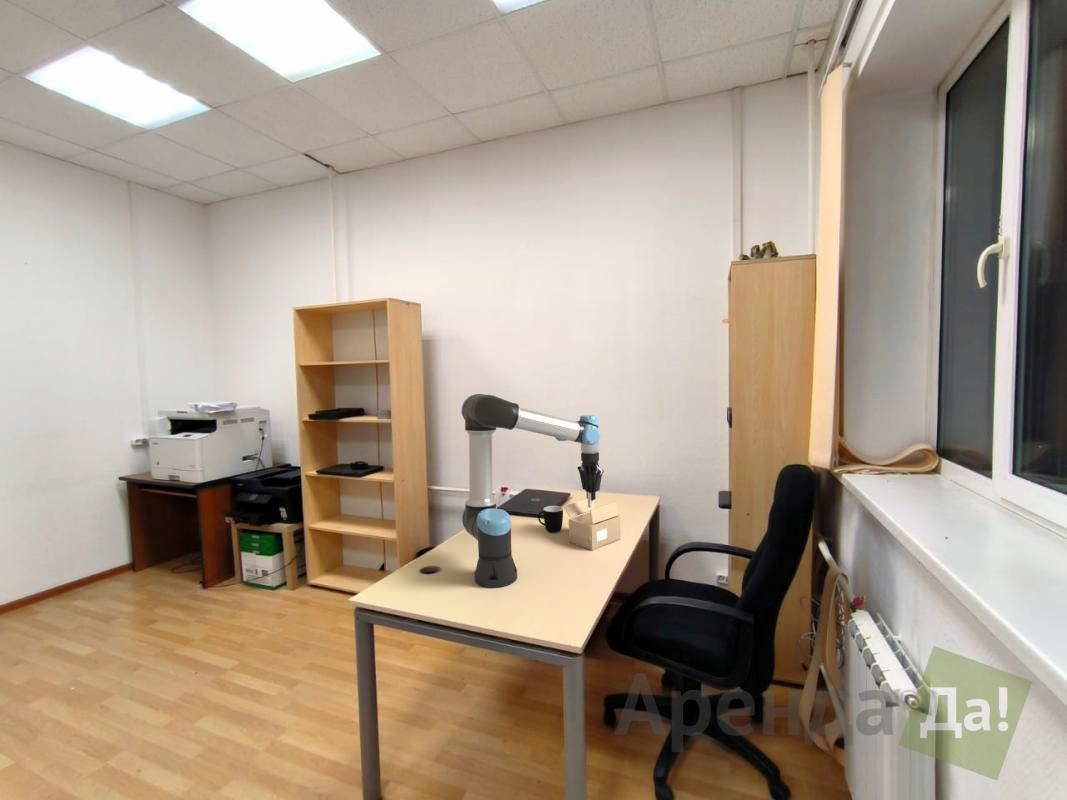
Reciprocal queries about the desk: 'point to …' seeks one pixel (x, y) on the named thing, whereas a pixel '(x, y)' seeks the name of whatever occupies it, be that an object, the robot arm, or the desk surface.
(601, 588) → the desk surface
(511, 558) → the robot arm
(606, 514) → the right flap
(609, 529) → the carton
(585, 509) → the left flap
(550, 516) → the mug
